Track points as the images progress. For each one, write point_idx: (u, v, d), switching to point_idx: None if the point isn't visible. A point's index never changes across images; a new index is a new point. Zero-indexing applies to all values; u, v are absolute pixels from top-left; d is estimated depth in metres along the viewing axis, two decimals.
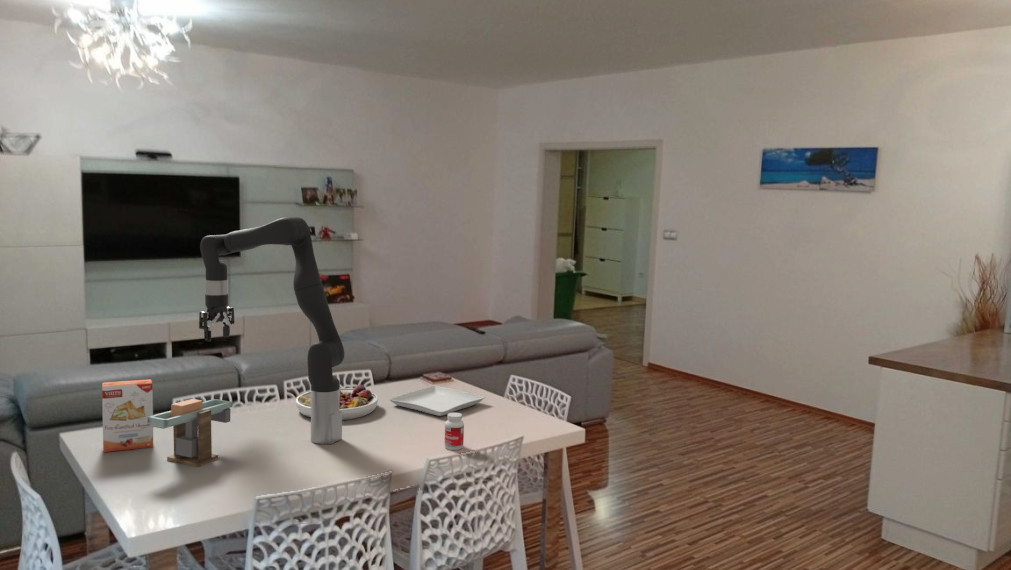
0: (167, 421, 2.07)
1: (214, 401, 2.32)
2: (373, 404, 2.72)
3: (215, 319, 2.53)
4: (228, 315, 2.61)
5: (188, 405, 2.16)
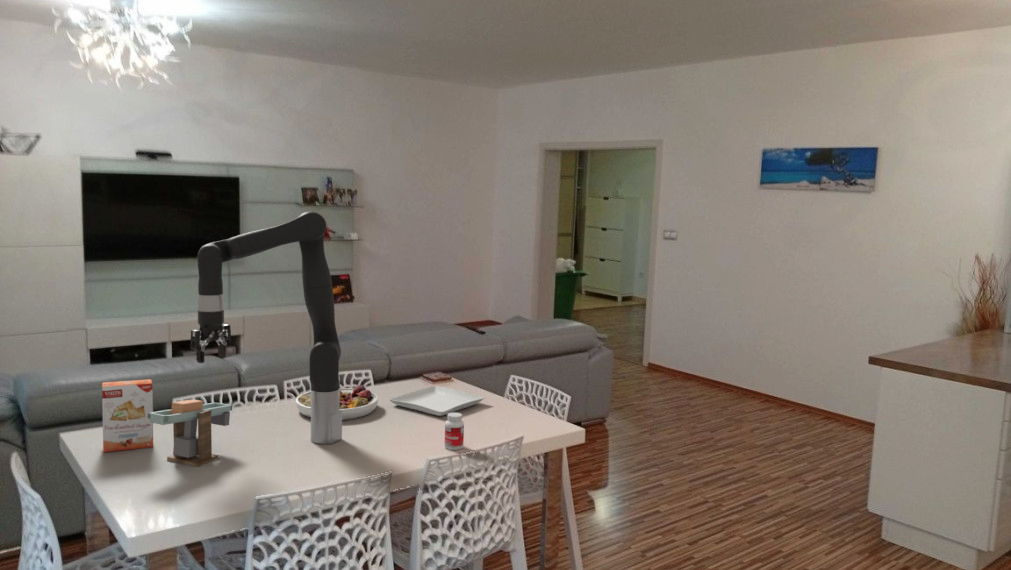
0: (167, 417, 2.07)
1: (214, 404, 2.32)
2: (373, 404, 2.72)
3: (209, 338, 2.25)
4: (224, 333, 2.34)
5: (189, 404, 2.16)
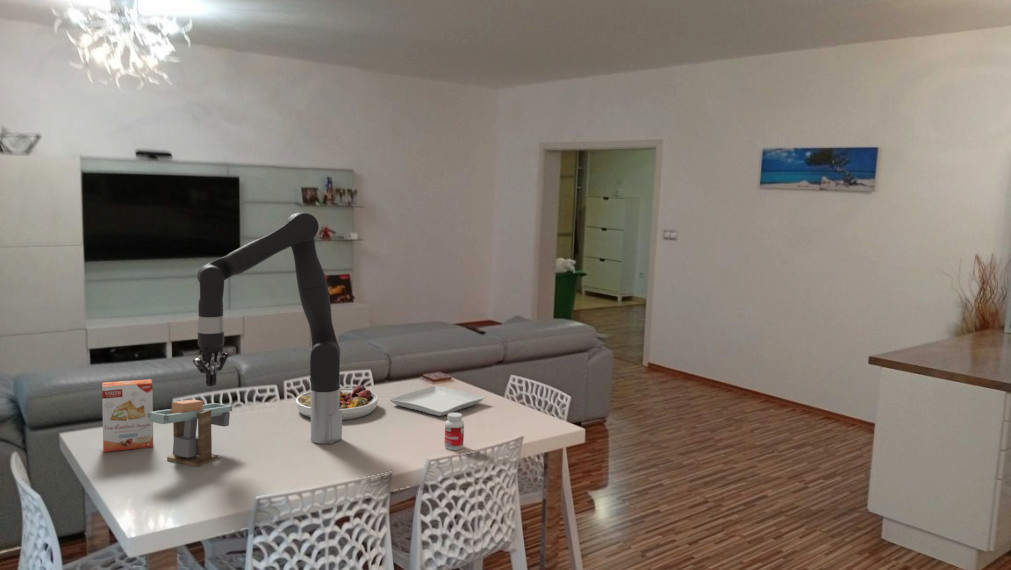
0: (167, 416, 2.07)
1: (214, 405, 2.32)
2: (373, 404, 2.72)
3: (212, 361, 2.24)
4: None
5: (189, 404, 2.16)
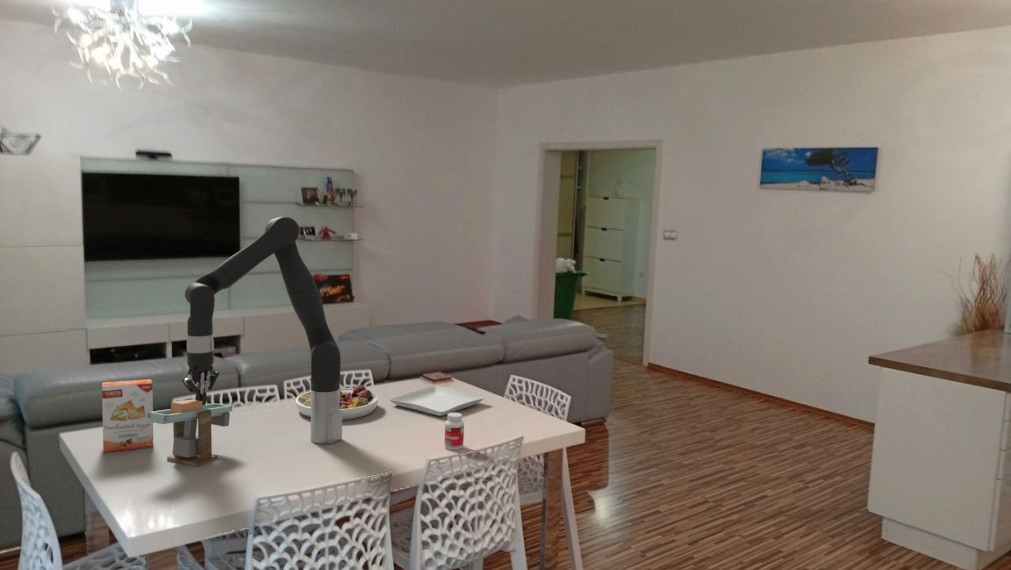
0: (167, 416, 2.07)
1: (214, 405, 2.32)
2: (373, 404, 2.72)
3: (202, 380, 2.21)
4: None
5: (188, 404, 2.16)
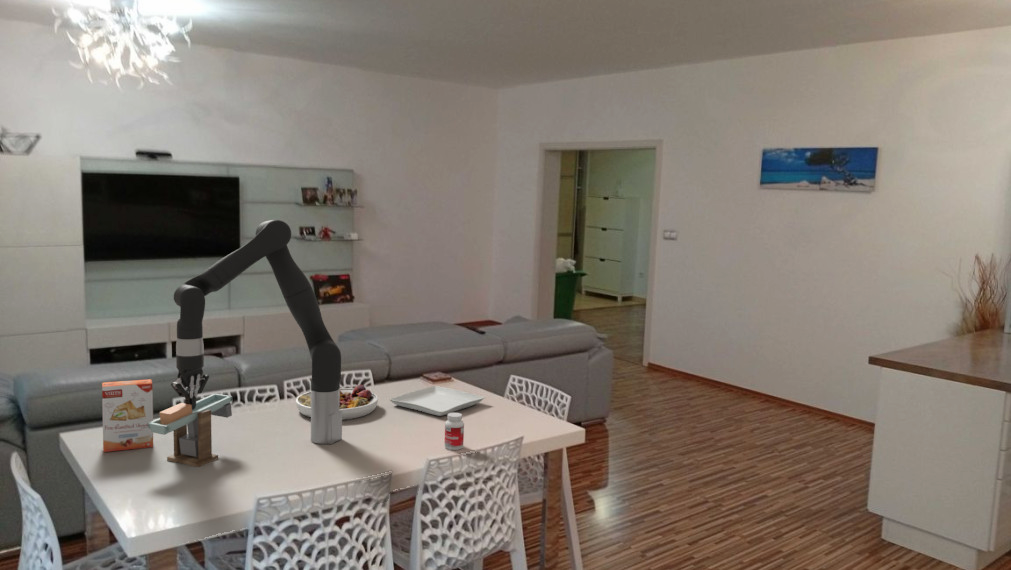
0: (167, 427, 2.07)
1: (214, 396, 2.32)
2: (373, 404, 2.72)
3: (191, 384, 2.17)
4: (199, 382, 2.22)
5: (177, 412, 2.12)
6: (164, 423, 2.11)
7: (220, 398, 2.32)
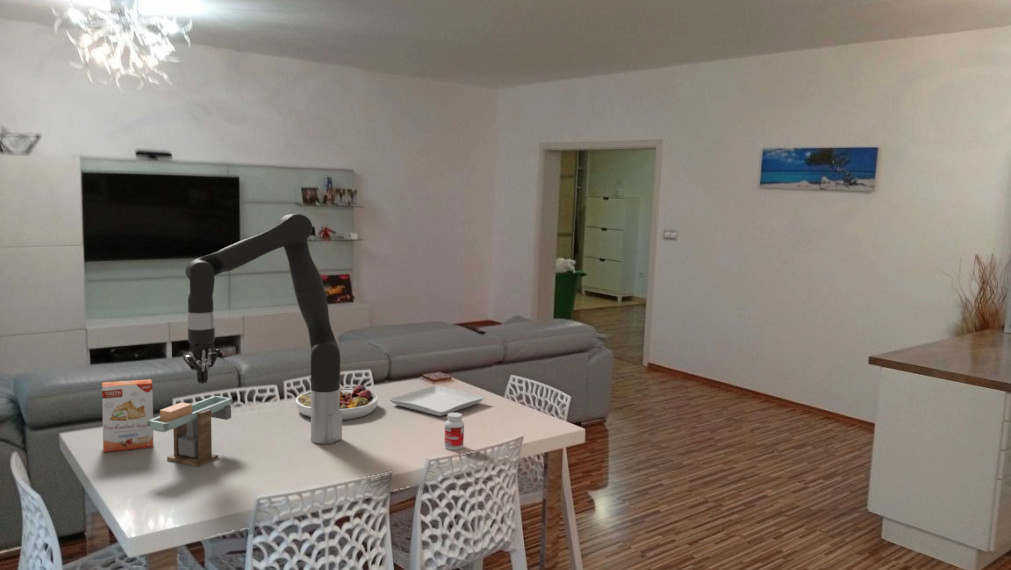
0: (167, 425, 2.07)
1: (214, 398, 2.32)
2: (373, 404, 2.72)
3: (203, 358, 2.21)
4: None
5: (177, 410, 2.12)
6: (164, 421, 2.11)
7: (220, 400, 2.32)
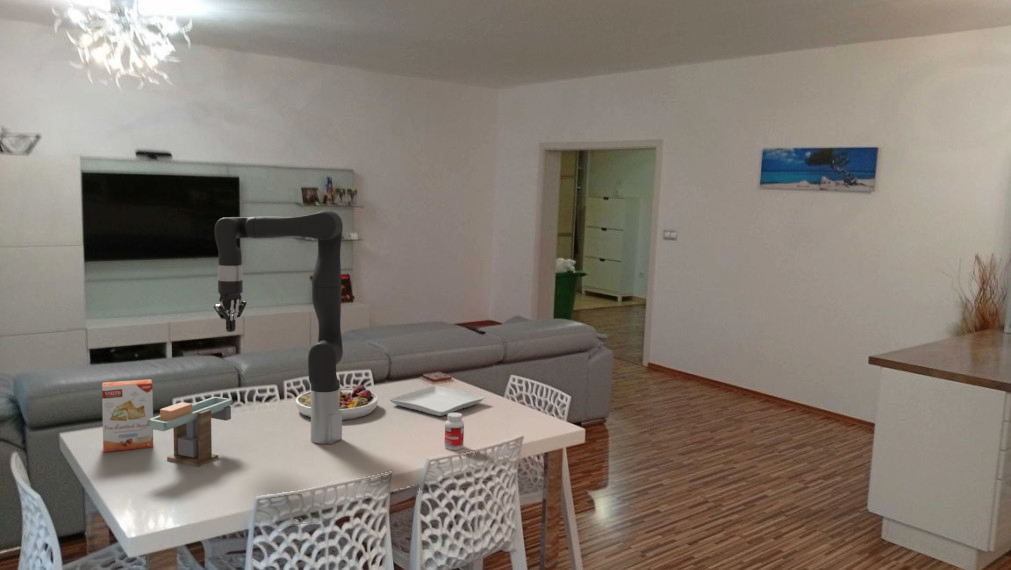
0: (167, 424, 2.07)
1: (214, 399, 2.32)
2: (373, 404, 2.72)
3: (232, 308, 2.39)
4: (237, 307, 2.44)
5: (177, 410, 2.12)
6: (164, 420, 2.11)
7: (220, 401, 2.32)
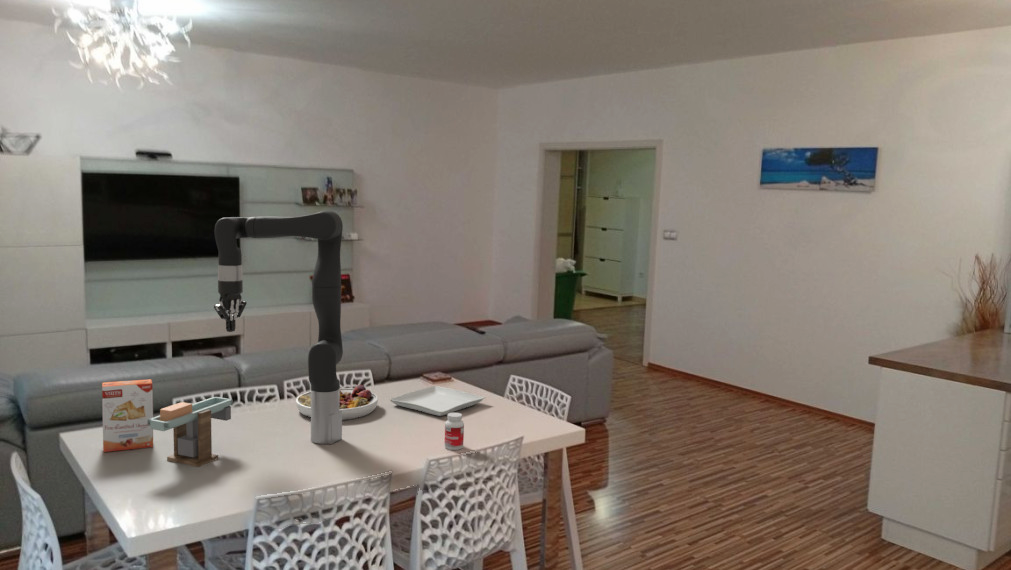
0: (167, 424, 2.07)
1: (214, 399, 2.32)
2: (373, 404, 2.72)
3: (232, 308, 2.39)
4: (237, 307, 2.44)
5: (177, 410, 2.12)
6: (164, 420, 2.11)
7: (220, 401, 2.32)
